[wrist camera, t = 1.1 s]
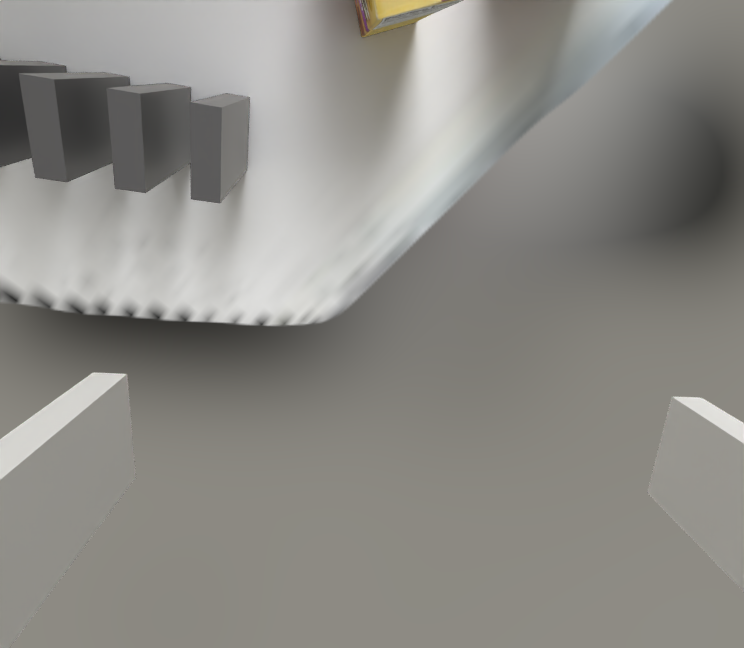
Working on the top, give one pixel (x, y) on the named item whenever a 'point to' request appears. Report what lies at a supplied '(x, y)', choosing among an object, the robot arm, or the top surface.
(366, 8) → the candy box
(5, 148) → the domino
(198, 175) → the domino
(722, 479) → the robot arm
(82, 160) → the domino
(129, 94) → the domino
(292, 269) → the top surface
